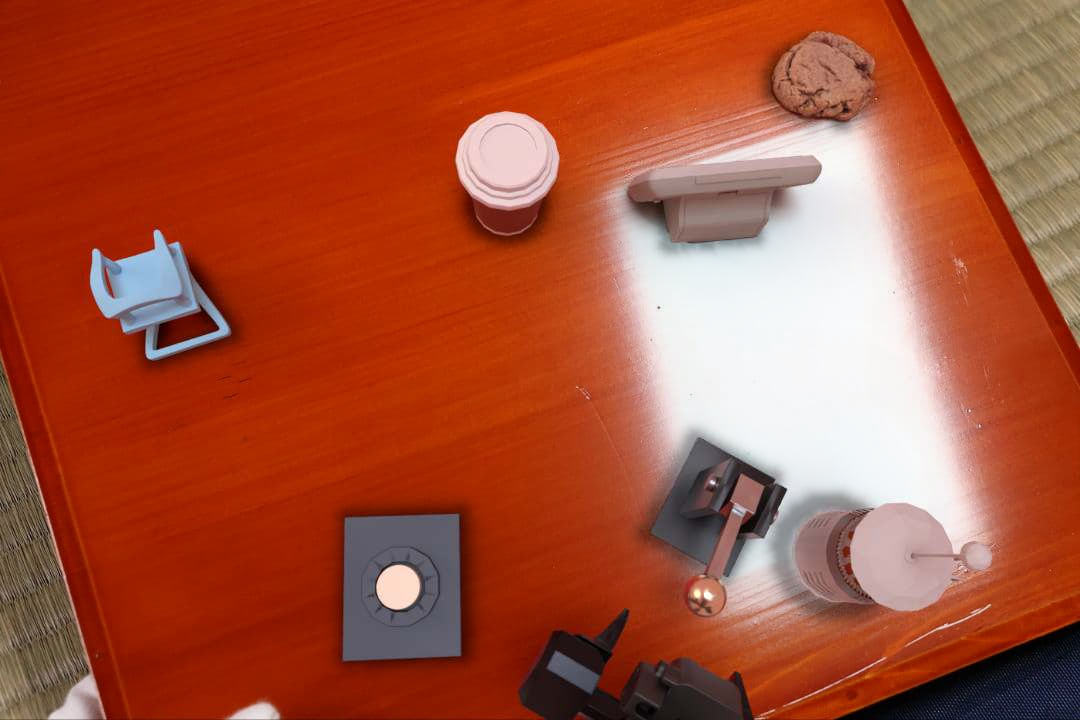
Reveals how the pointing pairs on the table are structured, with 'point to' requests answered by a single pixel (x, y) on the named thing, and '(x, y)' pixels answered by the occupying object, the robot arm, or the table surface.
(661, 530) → the switch bracket
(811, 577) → the french press
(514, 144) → the coffee cup
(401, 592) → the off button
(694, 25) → the table surface
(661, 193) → the digital clock
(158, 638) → the table surface
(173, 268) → the chair
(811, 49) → the cookie
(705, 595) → the switch lever
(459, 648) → the control box
